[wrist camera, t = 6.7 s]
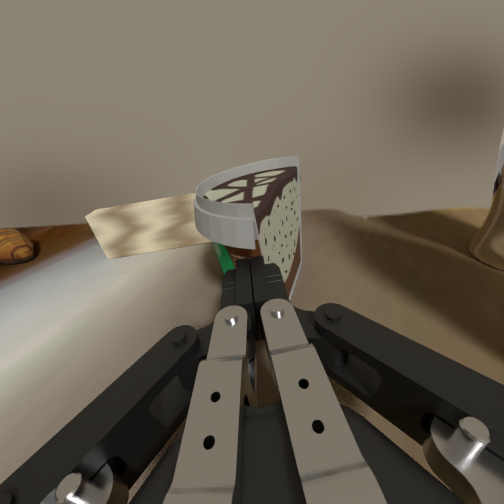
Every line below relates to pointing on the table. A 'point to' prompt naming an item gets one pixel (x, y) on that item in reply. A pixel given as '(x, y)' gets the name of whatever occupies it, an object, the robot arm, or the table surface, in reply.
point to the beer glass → (493, 222)
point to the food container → (254, 215)
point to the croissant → (15, 247)
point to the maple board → (146, 226)
